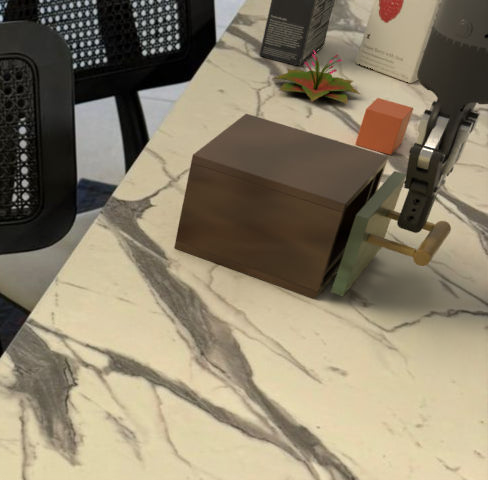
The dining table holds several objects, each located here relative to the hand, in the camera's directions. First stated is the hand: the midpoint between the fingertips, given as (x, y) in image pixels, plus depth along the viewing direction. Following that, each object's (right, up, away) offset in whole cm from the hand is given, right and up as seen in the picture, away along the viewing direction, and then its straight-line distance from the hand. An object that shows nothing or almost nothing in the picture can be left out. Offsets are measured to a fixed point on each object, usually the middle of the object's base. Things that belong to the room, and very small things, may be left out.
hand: (410, 227), depth 93 cm
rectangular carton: (+18, +34, +51) cm, 64 cm away
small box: (+3, +37, +52) cm, 64 cm away
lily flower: (+4, +28, +42) cm, 50 cm away
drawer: (-6, -1, +6) cm, 9 cm away
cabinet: (-11, 0, +9) cm, 14 cm away
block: (+8, +17, +30) cm, 35 cm away
